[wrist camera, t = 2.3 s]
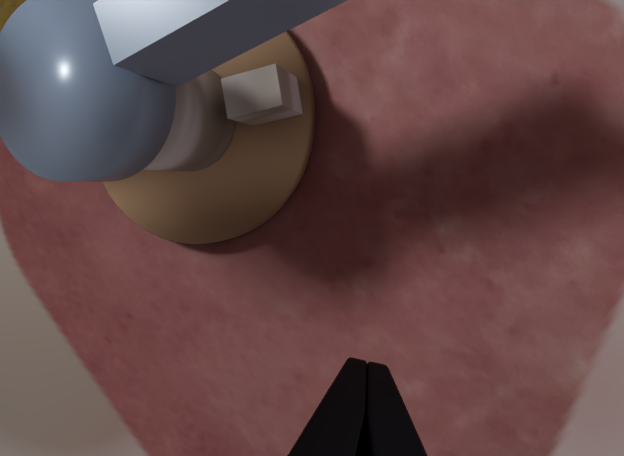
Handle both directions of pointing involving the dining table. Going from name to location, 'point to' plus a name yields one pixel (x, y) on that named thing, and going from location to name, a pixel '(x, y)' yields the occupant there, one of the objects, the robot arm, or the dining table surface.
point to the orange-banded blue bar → (117, 74)
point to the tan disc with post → (228, 149)
